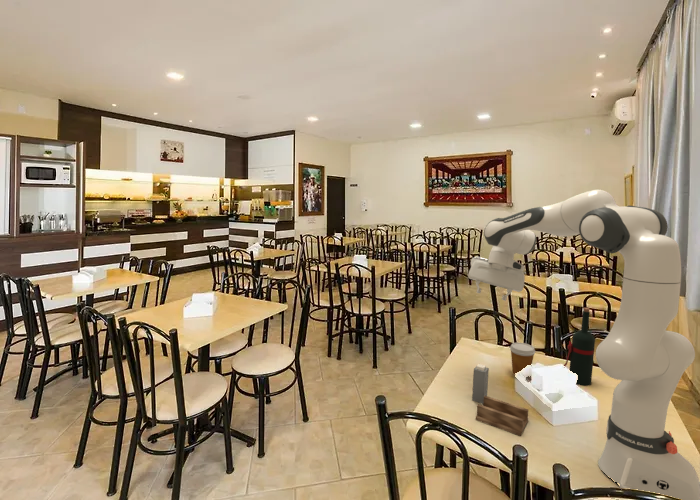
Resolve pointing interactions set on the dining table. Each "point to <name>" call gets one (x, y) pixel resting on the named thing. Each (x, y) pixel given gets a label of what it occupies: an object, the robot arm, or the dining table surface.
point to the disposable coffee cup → (521, 356)
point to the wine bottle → (582, 352)
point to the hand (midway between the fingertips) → (490, 296)
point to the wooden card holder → (502, 415)
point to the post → (480, 383)
